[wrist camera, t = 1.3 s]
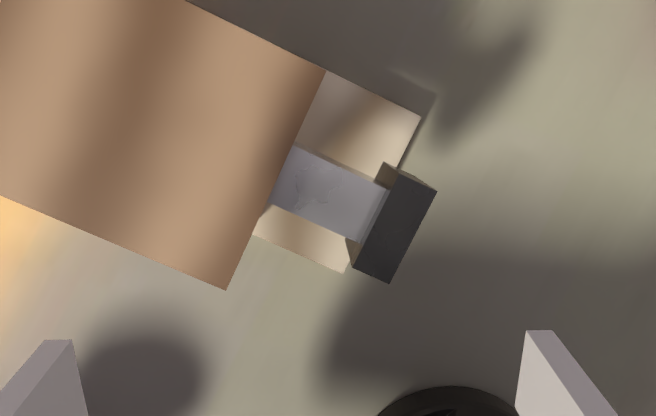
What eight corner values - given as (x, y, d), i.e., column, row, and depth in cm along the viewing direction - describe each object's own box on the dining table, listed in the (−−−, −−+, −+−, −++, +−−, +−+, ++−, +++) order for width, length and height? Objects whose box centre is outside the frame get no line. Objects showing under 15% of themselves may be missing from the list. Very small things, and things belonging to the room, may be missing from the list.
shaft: (414, 176, 28) (437, 191, 23) (375, 253, 29) (389, 284, 24) (155, 52, 26) (120, 40, 21) (121, 139, 27) (79, 146, 22)
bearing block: (416, 116, 34) (493, 124, 20) (341, 267, 36) (363, 371, 22) (141, -20, 32) (8, -119, 18) (77, 150, 34) (-89, 183, 20)
